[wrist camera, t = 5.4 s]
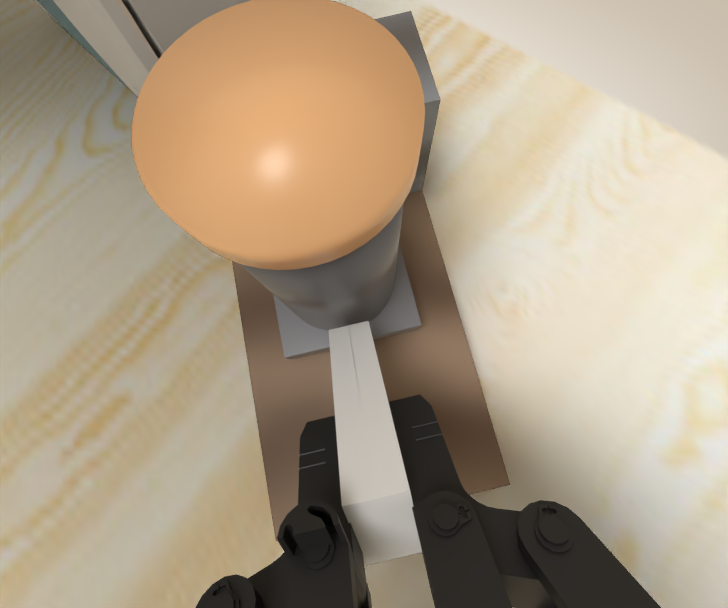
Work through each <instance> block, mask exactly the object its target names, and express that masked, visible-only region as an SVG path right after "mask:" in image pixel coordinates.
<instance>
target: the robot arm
mask: <svg viewBox="0 0 728 608" xmlns="http://www.w3.org/2000/svg"><path fill="white" fill-rule="evenodd" d="M329 344H330V357H331V370H332V383H333V397H334V410H335V415H334V416H330V417H326V418H322V419H317V420H313V421H309V422H307V423H306V425H305V427H304V430H303V432H302V434H301V436H300V451H299V454H300V457H299V469H300V471H299V488H298V505H297V506H296V507H295V508H293V509H292V510H291V511H290V512H289V513H288V514H287V515H286V517H285V518H284V520H283V522H282V523H281V525H280V528H279V532H278V536H277V540H278V542H279V543H280V545H281V547H282V548H283V550H284V551H285V552H284V553H283V554H282V556H281V557H280V558H278V559H277V560H276V561H274V562H273V563H272V564H270V565H269V566H267V567H265V568H264V569H262V570H261V571H259V572H258V573H256V574H254V575H253V576H251V577H250V578H248V579H247V578H245V577H242V576H239V575H231V576H226V577H224V578H222V579H220V580H219V581H217V582H215V583H214V584H212V586H211V587H210V588H209V589H208V590H207V591H206V592H205V593H204V594H203V595H202V597H201V599H200V601H199V602H198V604H197V606H196V608H372V604H371V596H370V592H369V588H368V585H367V582H366V577H365V568H364V562H365V564H366V566H367V565H371V564H375V563H379V562H384V561H388V560H392V559H396V558H400V557H405V556H409V555H413V554H417V553H421V552H422V554H423V558H424V562H425V566H426V570H427V575H428V579H429V584H430V588H431V592H432V596H433V600H434V605H435V608H512V607H515V608H661V607H660V606H659V605H658V604H657V603H656V602H655V601H654V600H653V598H652V597H651V596H650V595H649V594H648V593H647V592H646V591H645V590H644V588H643V587H642V586H641V585H640V584H639V583H638V582H637V581H636V580H635V579H634V577H633V576H632V575H631V574H630V573H629V572H628V571H627V570H626V569H625V567H624V566H623V565H622V564H621V563H620V562H619V561H618V560H617V559H616V558H615V556H614V555H613V554H612V553H611V552H610V551H609V550H608V549H607V548H606V546H605V545H604V544H603V543H602V542H601V541H600V540H599V539H598V538H597V537H596V535H595V534H594V533H593V532H592V531H591V530H590V529H589V528H588V527H587V525H586V524H585V523H584V522H583V521H582V520H581V519H580V518H579V517H578V516H577V515H576V514H574V513H573V512H572V511H571V510H570V509H568V508H567V507H565V506H562V505H560V504H558V503H556V502H551V501H537V502H534V503H530V504H529V505H528V506H526V507H525V508H524V509H523V510H522V511H512V510H503V509H496V508H491V507H487V506H485V505H483V504H481V503H478V502H477V501H476V500H474V499H473V498H472V497H470V495H469V494H468V493H467V492H466V491H465V490H464V488H463V486H462V484H461V482H460V480H459V477H458V474H457V472H456V469H455V466H454V464H453V461H452V458H451V456H450V453H449V451H448V448H447V445H446V443H445V440H444V437H443V435H442V432H441V429H440V427H439V424H438V422H437V419H436V416H435V413H434V411H433V408H432V405H431V404H430V403H428V402H427V401H426V400H425V399H424V398H423V397H422V396H421V395H420V394H419V395H415V396H411V397H407V398H402V399H398V400H394V401H390V402H388V398H387V394H386V390H385V386H384V382H383V378H382V374H381V370H380V366H379V362H378V358H377V354H376V350H375V345H374V341H373V337H372V333H371V329H370V325H369V321H365V322H361V323H357V324H352V325H348V326H344V327H340V328H335V329H331V330H329Z"/></svg>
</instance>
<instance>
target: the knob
mask: <svg viewBox="0 0 728 608" xmlns="http://www.w3.org/2000/svg"><path fill="white" fill-rule="evenodd" d="M424 120H425V104H424V94H423V89H422V85H421V81H420V78H419V75H418V73H417V70H416V68H415V65H414V63H413V61H412V60H411V58H410V56H409V55H408V53H407V51H406V50H405V49H404V47H403V46H402V45H401V44H400V42H399V41H398V40H397V39H396V37H395V36H393V35H392V34H391V33H390V32H389V31H388V30H387V29H386V28H385V27H384V26H382V25H381V24H380V23H378V22H377V21H375V20H374V19H372V18H371V17H370V16H368V15H366V14H364V13H362V12H360V11H358V10H356V9H354V8H352V7H349V6H346V5H344V4H341V3H338V2H334V1H330V0H252V1H248V2H245V3H241V4H237V5H235V6H232V7H230V8H227V9H224V10H222V11H219V12H218V13H216V14H214V15H212V16H210V17H208V18H206V19H204V20H203V21H201V22H200V23H198V24H197V25H195V26H193V27H192V28H190V29H189V30H188V31H187V32H185V33H184V34H183V35H182V36H181V37H179V38H178V39H177V40H176V41H175V42H174V43H173V44H172V45H171V46H170V47H169V48H168V49H167V50H166V51H165V52H164V53H163V54H162V56H161V57H160V58H159V60H158V61H157V62H156V64H155V65H154V66H153V68H152V70H151V71H150V73H149V75H148V76H147V78H146V80H145V82H144V84H143V86H142V89H141V91H140V93H139V96H138V99H137V102H136V106H135V110H134V114H133V122H132V149H133V155H134V161H135V164H136V167H137V170H138V173H139V176H140V178H141V180H142V182H143V184H144V186H145V188H146V190H147V192H148V193H149V195H150V196H151V197H152V199H153V200H154V201H155V203H156V204H157V205H158V207H159V208H160V209H161V210H162V211H163V212H165V213H166V214H167V215H168V216H169V217H170V218H171V219H172V220H173V221H174V222H175V223H177V224H178V225H179V226H180V227H182V228H183V229H184V230H185V231H186V232H188V233H189V234H190V235H191V236H193V237H194V238H195V239H196V240H198V241H199V242H200V243H201V244H203V245H204V246H206V247H207V248H208V249H210V250H211V251H213V252H215V253H216V254H218V255H220V256H222V257H224V258H226V259H228V260H231V261H234V262H237V263H239V264H240V265H241V266H242V267H243V268H245V269H246V270H247V271H248V272H249V273H250V274H251V275H252V276H254V277H255V278H256V279H257V280H258V281H259V282H260V283H261V284H263V285H264V286H265V287H266V288H267V289H268V290H269V291H270V292H272V293H273V296H274V302H275V308H276V313H277V319H278V324H279V330H280V335H281V341H282V346H283V352H284V358H287V359H294V358H299V357H303V356H307V355H311V354H316V353H320V352H324V351H328V350H330V344H329V330H331V329H335V328H340V327H344V326H348V325H352V324H357V323H361V322H365V321H369V325H370V329H371V333H372V337H373V340H374V339H379V338H383V337H387V336H391V335H396V334H400V333H404V332H408V331H412V330H417V329H419V328H420V327H421V321H420V317H419V314H418V310H417V306H416V303H415V299H414V295H413V292H412V288H411V284H410V281H409V277H408V273H407V270H406V266H405V262H404V259H403V255H402V251H401V248H400V244H399V238H400V230H401V221H402V213H403V204H404V201H405V199H406V197H407V196H408V194H409V192H410V189H411V186H412V184H413V181H414V179H415V175H416V171H417V166H418V162H419V155H420V149H421V143H422V137H423V131H424Z"/></svg>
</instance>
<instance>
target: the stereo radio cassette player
mask: <svg viewBox="0 0 728 608" xmlns="http://www.w3.org/2000/svg"><path fill="white" fill-rule="evenodd" d="M34 1H35V2H36V3H37V4H38V5H39V6H40V7H41V8H42V9H43V10H45V11H46V12H47V13H48V14H49V15H50V16H51V17H52V18H53V19H54V20H55V21H56V22H57V23H59V24H60V25H61V26H62V27H63V28H64V29H65V30H66V31H67V32H68V33H69V34H70V35H71V36H72V37H73V38H74V39H76V40H77V41H78V42H79V43H80V44H81V45H82V46H83V47H84V48H85V49H86V50H87V51H88V52H90V53H91V54H92V55H93V56H94V57H95V58H96V59H97V60H98V61H99V62H100V63H101V64H102V65H104V66H105V67H106V68H107V69H108V70H109V71H110V72H111V73H112V74H113V75H114V76H115V77H116V78H117V79H119V80H120V81H121V82H122V83H123V84H124V85H125V86H126V87H127V88H128V89H129V90H130V91H131V92H133V93H134V94H135V95H136V96H137V97H138V96H139V93H140V91H141V89H142V86H143V84H144V82H145V80H146V78H147V76H148V75H149V73H150V71H151V70H152V68H153V66H154V65H155V64H156V62H157V61H158V60H159V58H160V57H161V56H162V54H163V53H164V52H165V51H166V50H167V49H168V48H169V47H170V46H171V45H172V44H173V43H174V42H175V41H176V40H177V39H178V38H179V37H181V36H182V35H183V34H184V33H185V32H187V31H188V30H189V29H190V28H192V27H193V26H195V25H197V24H198V23H200V22H201V21H203V20H204V19H206V18H208V17H210V16H212V15H214V14H216V13H218V12H219V11H222V10H224V9H227V8H230V7H232V6H235V5H237V4H241V3H245V2H248V1H252V0H34Z"/></svg>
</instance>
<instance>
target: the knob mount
mask: <svg viewBox="0 0 728 608" xmlns="http://www.w3.org/2000/svg"><path fill="white" fill-rule="evenodd" d="M375 21H377V22H378V23H380V24H381V25H382V26H384V27H385V28H386V29H387V30H388V31H389V32H390V33H391V34H392V35H393V36H395V37H396V39H397V40H398V41H399V42H400V44H401V45H402V46H403V47H404V49H405V50H406V51H407V53H408V55H409V56H410V58H411V60H412V61H413V63H414V65H415V68H416V70H417V73H418V75H419V78H420V81H421V85H422V89H423V94H424V104H425V120H424V131H423V137H422V143H421V149H420V155H419V162H418V166H417V171H416V175H415V179H414V181H413V184H412V186H411V189H410V192H409V194H408V196H407V197H406V199H405V201H404V204H403V213H402V221H401V230H400V238H399V244H400V248H401V251H402V255H403V259H404V262H405V266H406V270H407V273H408V277H409V281H410V284H411V288H412V292H413V295H414V299H415V303H416V306H417V310H418V314H419V317H420V321H421V327H420V328H419V329H417V330H412V331H408V332H404V333H400V334H396V335H391V336H387V337H383V338H379V339H374V340H373V341H374V345H375V350H376V354H377V358H378V362H379V366H380V370H381V374H382V378H383V382H384V386H385V390H386V394H387V398H388V402H390V401H394V400H398V399H402V398H407V397H411V396H415V395H419V394H420V395H421V396H422V397H423V398H424V399H425V400H426V401H427V402H428V403H430V404H431V405H432V408H433V411H434V413H435V416H436V419H437V422H438V424H439V427H440V429H441V432H442V435H443V437H444V440H445V443H446V445H447V448H448V451H449V453H450V456H451V458H452V461H453V464H454V466H455V469H456V472H457V474H458V477H459V480H460V482H461V484H462V486H463V488H464V490H465V491H466V492H467V493H468V494H473V493H477V492H481V491H485V490H490V489H494V488H498V487H502V486H506V485H510V483H509V480H508V476H507V473H506V470H505V466H504V463H503V460H502V456H501V453H500V449H499V446H498V443H497V439H496V436H495V433H494V429H493V426H492V423H491V419H490V416H489V413H488V409H487V406H486V403H485V399H484V396H483V393H482V389H481V386H480V383H479V379H478V376H477V373H476V369H475V366H474V362H473V359H472V356H471V352H470V349H469V346H468V342H467V339H466V336H465V332H464V329H463V326H462V322H461V319H460V316H459V312H458V309H457V306H456V302H455V299H454V296H453V292H452V289H451V286H450V282H449V279H448V275H447V272H446V269H445V265H444V262H443V259H442V255H441V252H440V249H439V245H438V242H437V239H436V235H435V232H434V229H433V225H432V222H431V219H430V215H429V212H428V209H427V205H426V202H425V198H424V195H423V192H422V188H423V183H424V178H425V173H426V168H427V163H428V158H429V153H430V148H431V143H432V138H433V133H434V128H435V123H436V119H437V114H438V109H439V104H440V97H439V94H438V91H437V88H436V85H435V82H434V79H433V76H432V73H431V70H430V67H429V64H428V61H427V58H426V55H425V52H424V49H423V46H422V43H421V40H420V37H419V34H418V31H417V28H416V25H415V22H414V19H413V16H412V13H411V11H409V12H405V13H401V14H396V15H392V16H388V17H383V18H379V19H375ZM232 263H233V269H234V276H235V282H236V289H237V295H238V301H239V308H240V314H241V320H242V327H243V333H244V340H245V346H246V352H247V359H248V365H249V372H250V378H251V384H252V391H253V397H254V404H255V410H256V416H257V423H258V429H259V436H260V442H261V448H262V455H263V461H264V467H265V474H266V480H267V487H268V493H269V499H270V506H271V512H272V519H273V525H274V531H275V538H276V541H278V540H277V536H278V532H279V528H280V525H281V523H282V522H283V520H284V518H285V517H286V515H287V514H288V513H289V512H290V511H291V510H292V509H293V508H295V507H296V506H297V505H298V488H299V471H300V469H299V457H300V454H299V451H300V436H301V434H302V432H303V430H304V427H305V425H306V423H307V422H309V421H313V420H317V419H322V418H326V417H330V416H334V415H335V410H334V397H333V383H332V370H331V357H330V350H328V351H324V352H320V353H316V354H311V355H307V356H303V357H299V358H294V359H287V358H284V352H283V346H282V341H281V335H280V330H279V324H278V319H277V313H276V308H275V302H274V296H273V293H272V292H270V291H269V290H268V289H267V288H266V287H265V286H264V285H263V284H261V283H260V282H259V281H258V280H257V279H256V278H255V277H254V276H252V275H251V274H250V273H249V272H248V271H247V270H246V269H245V268H243V267H242V266H241V265H240V264H239V263H237V262H234V261H232Z"/></svg>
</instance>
